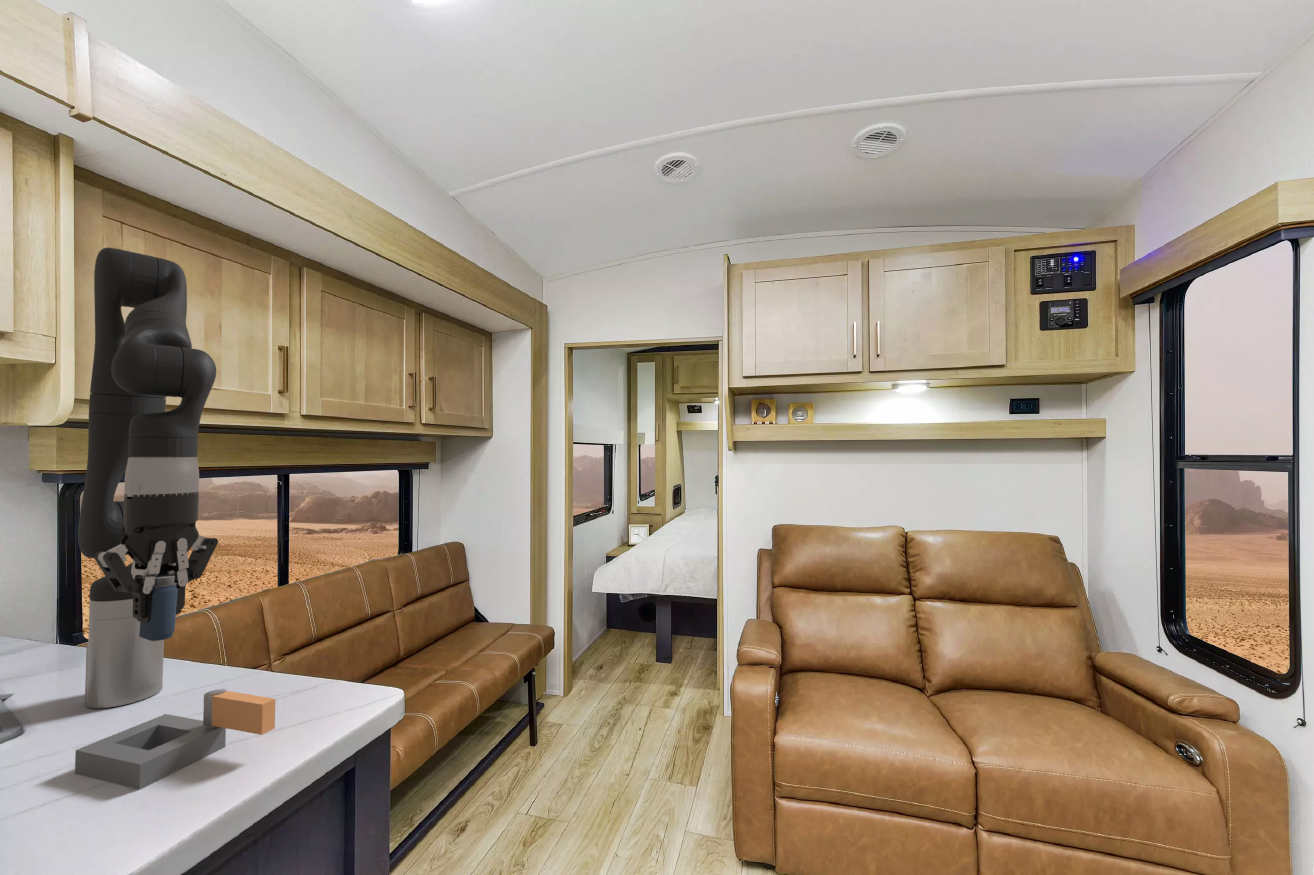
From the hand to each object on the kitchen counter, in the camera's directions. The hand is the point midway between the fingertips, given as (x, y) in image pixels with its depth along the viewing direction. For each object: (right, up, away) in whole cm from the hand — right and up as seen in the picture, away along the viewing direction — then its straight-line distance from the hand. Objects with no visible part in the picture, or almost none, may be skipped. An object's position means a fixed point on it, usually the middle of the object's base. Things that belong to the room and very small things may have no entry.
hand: (159, 616), depth 73 cm
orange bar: (+10, -15, +1) cm, 18 cm away
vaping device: (0, -3, 0) cm, 3 cm away
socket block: (0, -19, -1) cm, 19 cm away
